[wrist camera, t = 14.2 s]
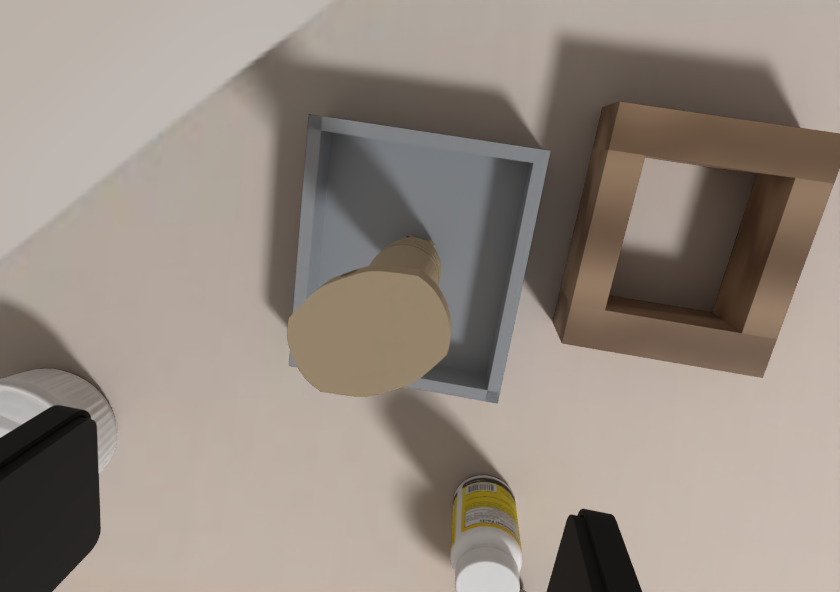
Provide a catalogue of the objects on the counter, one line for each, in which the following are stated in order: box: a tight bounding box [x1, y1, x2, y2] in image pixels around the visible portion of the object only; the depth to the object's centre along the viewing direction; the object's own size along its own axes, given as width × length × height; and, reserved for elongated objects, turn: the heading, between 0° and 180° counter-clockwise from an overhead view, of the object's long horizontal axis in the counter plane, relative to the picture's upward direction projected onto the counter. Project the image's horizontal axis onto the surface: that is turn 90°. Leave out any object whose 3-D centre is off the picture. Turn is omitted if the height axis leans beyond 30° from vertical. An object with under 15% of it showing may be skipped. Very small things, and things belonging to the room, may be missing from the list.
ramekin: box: [0, 368, 117, 474], centre depth 40 cm, size 11×11×5 cm
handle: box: [287, 235, 452, 397], centre depth 27 cm, size 5×6×15 cm
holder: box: [553, 102, 840, 378], centre depth 31 cm, size 14×12×4 cm
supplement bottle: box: [450, 475, 522, 592], centre depth 36 cm, size 5×5×8 cm
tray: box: [289, 114, 551, 404], centre depth 34 cm, size 16×14×4 cm
